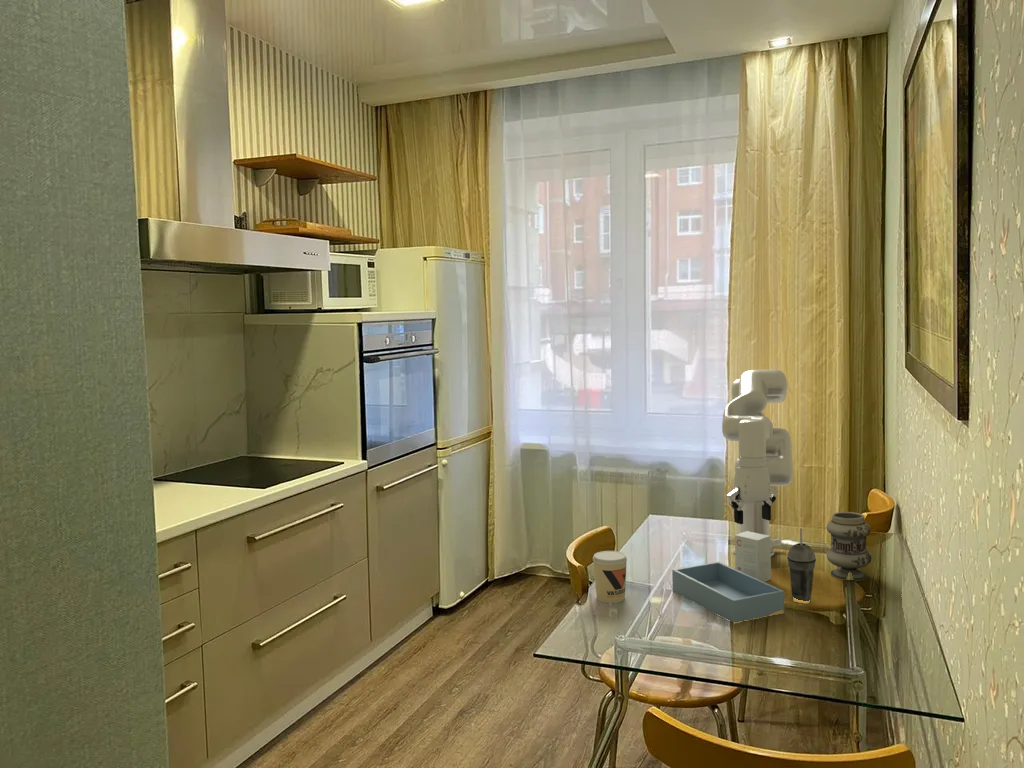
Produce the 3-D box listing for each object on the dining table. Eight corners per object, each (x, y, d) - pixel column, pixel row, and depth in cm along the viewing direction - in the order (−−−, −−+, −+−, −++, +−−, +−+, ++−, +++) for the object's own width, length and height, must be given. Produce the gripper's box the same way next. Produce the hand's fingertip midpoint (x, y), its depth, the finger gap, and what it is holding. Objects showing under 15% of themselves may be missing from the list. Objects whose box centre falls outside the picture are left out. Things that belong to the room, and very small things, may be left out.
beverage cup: (817, 598, 218) (817, 525, 217) (814, 607, 212) (814, 532, 210) (788, 594, 222) (788, 523, 220) (785, 603, 215) (785, 529, 213)
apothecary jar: (837, 566, 244) (837, 507, 242) (878, 574, 235) (878, 513, 234) (819, 576, 236) (819, 515, 234) (861, 585, 227) (861, 522, 225)
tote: (718, 582, 234) (718, 561, 233) (784, 613, 208) (784, 591, 208) (672, 590, 228) (672, 569, 227) (734, 624, 202) (733, 600, 202)
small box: (771, 579, 234) (771, 535, 233) (758, 585, 230) (758, 540, 229) (747, 573, 240) (747, 530, 239) (734, 578, 236) (734, 534, 235)
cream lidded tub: (606, 606, 217) (605, 562, 216) (587, 596, 226) (586, 553, 225) (634, 599, 222) (633, 556, 221) (615, 589, 230) (614, 548, 229)
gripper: (768, 458, 239) (768, 515, 240) (719, 463, 232) (719, 522, 234) (785, 461, 232) (785, 520, 233) (735, 467, 225) (736, 527, 227)
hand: (752, 521), depth 233 cm, fingers open, 9 cm apart
